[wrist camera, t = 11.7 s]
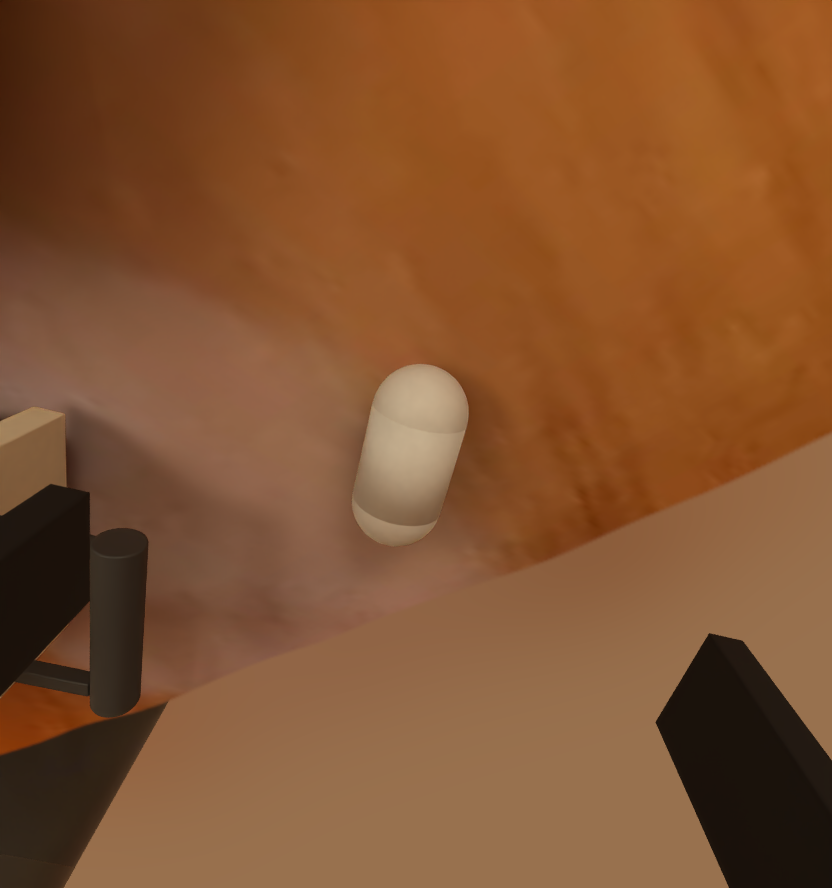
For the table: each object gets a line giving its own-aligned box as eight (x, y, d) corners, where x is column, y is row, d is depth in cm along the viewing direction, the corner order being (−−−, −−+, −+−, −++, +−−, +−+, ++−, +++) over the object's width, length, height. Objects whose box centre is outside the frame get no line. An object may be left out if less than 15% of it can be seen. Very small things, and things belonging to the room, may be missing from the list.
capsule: (429, 524, 22) (429, 573, 19) (351, 506, 22) (336, 553, 18) (476, 366, 19) (485, 393, 16) (387, 344, 19) (378, 366, 16)
